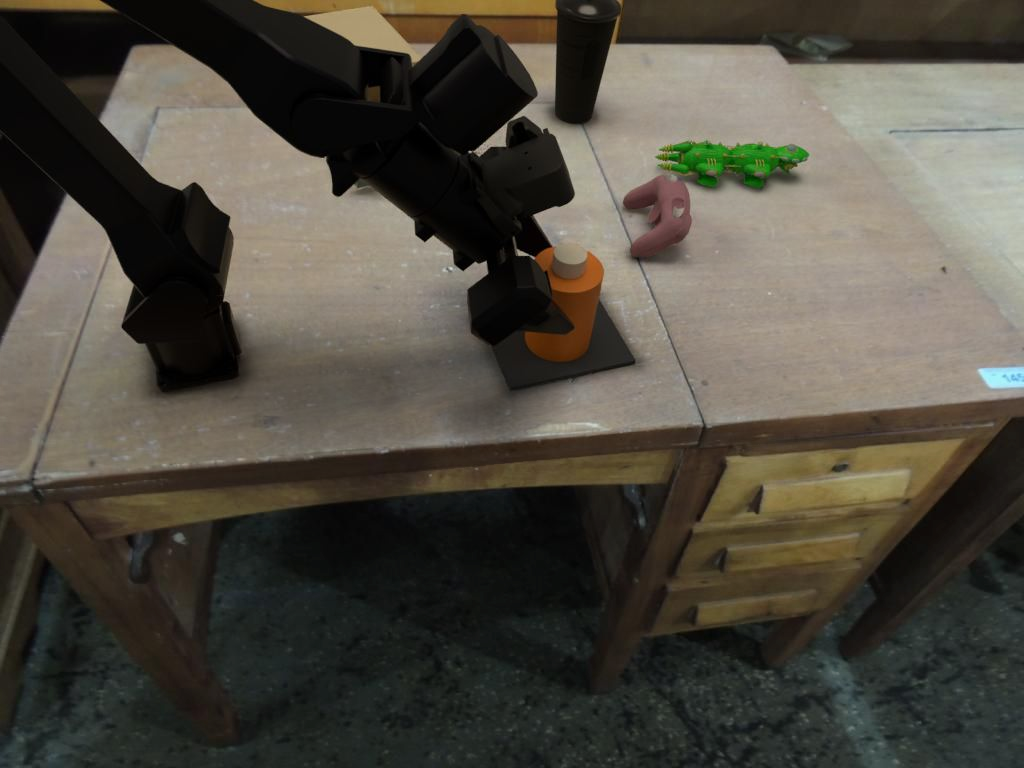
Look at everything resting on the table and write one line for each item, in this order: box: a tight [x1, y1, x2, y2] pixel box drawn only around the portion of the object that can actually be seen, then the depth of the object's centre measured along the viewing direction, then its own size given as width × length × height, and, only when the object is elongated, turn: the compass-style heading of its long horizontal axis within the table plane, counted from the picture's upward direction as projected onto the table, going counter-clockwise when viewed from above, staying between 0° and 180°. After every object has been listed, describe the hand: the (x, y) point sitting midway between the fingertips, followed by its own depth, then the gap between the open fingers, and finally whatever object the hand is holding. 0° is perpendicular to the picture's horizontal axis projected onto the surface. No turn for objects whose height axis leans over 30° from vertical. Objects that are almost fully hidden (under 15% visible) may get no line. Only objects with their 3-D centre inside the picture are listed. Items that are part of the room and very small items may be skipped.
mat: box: [490, 299, 637, 392], centre depth 68 cm, size 12×9×1 cm
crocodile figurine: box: [654, 139, 810, 189], centre depth 87 cm, size 7×18×4 cm, turn 93°
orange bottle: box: [525, 242, 605, 362], centre depth 64 cm, size 6×6×10 cm
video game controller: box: [622, 172, 693, 258], centre depth 78 cm, size 10×5×7 cm, turn 179°
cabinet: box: [303, 5, 423, 67], centre depth 91 cm, size 16×14×8 cm
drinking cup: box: [554, 0, 623, 125], centre depth 88 cm, size 8×8×20 cm
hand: (560, 292), depth 64 cm, fingers open, 9 cm apart
